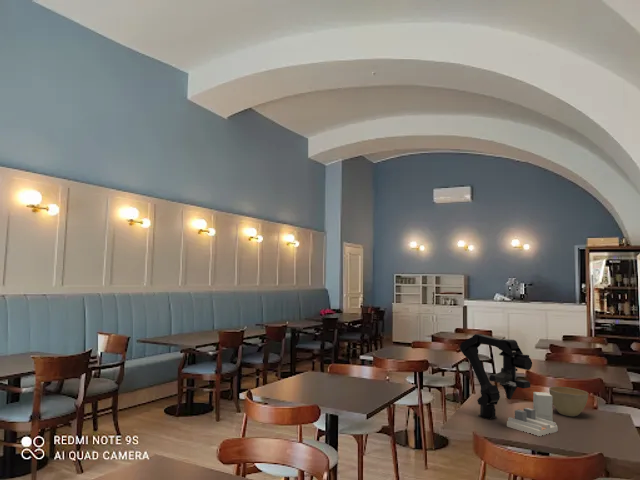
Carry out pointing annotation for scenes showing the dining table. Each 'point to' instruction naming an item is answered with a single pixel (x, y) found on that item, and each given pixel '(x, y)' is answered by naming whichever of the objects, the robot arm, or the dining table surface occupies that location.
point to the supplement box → (543, 405)
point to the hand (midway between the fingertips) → (509, 399)
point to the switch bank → (533, 426)
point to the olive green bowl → (568, 400)
